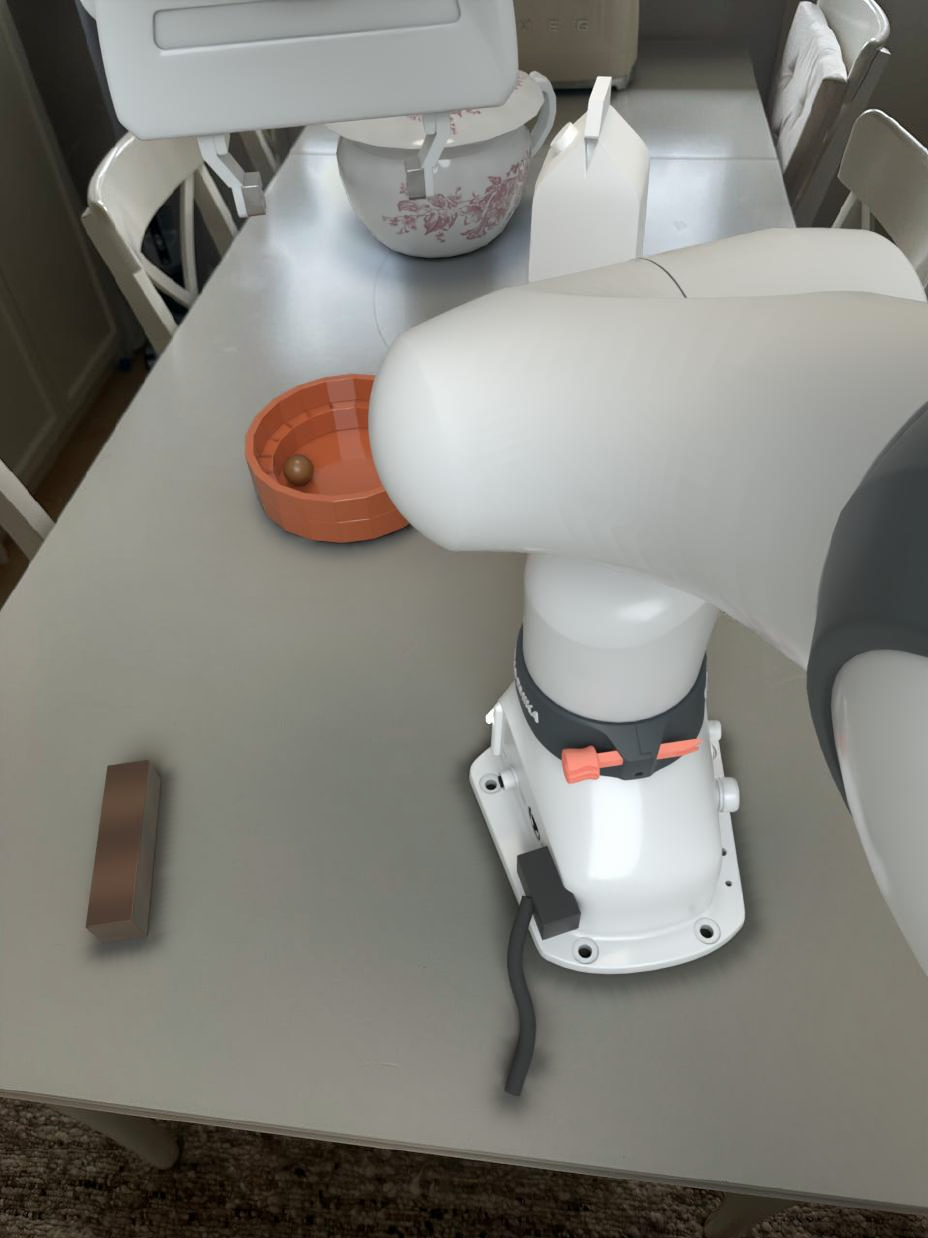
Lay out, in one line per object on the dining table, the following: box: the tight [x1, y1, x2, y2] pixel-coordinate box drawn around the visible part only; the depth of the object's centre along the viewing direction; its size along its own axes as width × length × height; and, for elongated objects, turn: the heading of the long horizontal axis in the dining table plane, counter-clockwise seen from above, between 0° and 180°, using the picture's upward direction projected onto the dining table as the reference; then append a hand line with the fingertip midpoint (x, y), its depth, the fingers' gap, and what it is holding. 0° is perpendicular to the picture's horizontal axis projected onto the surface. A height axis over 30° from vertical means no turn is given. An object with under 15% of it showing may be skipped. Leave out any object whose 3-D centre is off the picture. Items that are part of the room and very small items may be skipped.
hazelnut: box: [283, 454, 314, 485], centre depth 84 cm, size 3×3×3 cm
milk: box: [527, 75, 651, 283], centre depth 90 cm, size 12×12×26 cm
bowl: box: [244, 373, 411, 544], centre depth 84 cm, size 19×19×6 cm
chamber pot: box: [324, 69, 557, 259], centre depth 109 cm, size 28×28×21 cm
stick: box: [85, 759, 162, 944], centre depth 60 cm, size 12×3×3 cm, turn 8°
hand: (337, 203), depth 48 cm, fingers open, 8 cm apart
